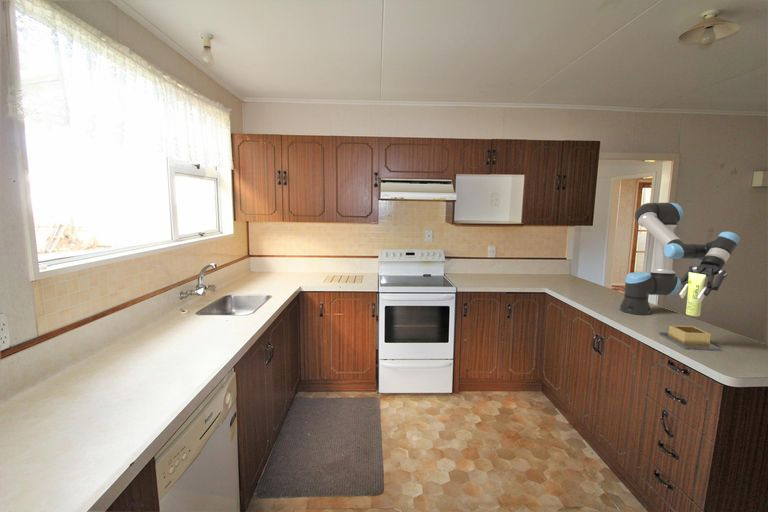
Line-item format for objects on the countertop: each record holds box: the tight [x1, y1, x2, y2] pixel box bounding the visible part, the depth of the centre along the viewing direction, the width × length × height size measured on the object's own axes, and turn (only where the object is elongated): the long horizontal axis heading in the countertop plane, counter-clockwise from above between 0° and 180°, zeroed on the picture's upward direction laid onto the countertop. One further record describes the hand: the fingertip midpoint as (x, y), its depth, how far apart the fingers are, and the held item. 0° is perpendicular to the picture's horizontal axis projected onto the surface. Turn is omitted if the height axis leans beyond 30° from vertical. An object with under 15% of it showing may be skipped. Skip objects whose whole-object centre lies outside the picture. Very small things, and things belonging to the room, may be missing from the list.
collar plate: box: [658, 325, 722, 352], centre depth 161 cm, size 18×14×6 cm
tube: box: [685, 272, 707, 317], centre depth 157 cm, size 6×5×20 cm
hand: (690, 298), depth 156 cm, fingers closed on tube, 6 cm apart
